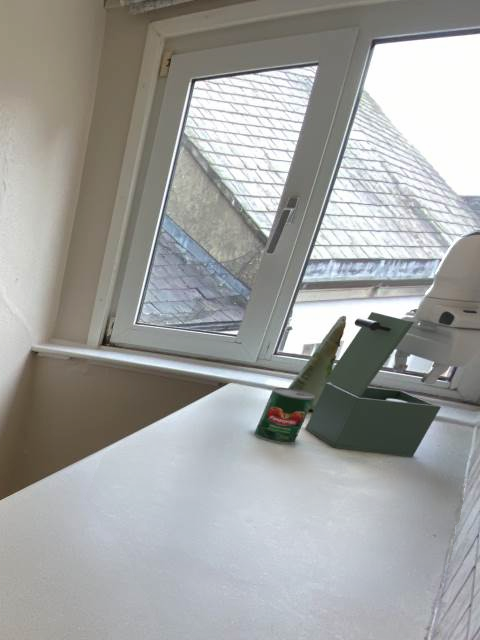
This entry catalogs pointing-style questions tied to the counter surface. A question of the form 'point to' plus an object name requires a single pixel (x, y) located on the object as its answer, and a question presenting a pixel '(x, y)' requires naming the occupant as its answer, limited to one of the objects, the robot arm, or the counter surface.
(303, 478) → the counter surface
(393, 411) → the chest
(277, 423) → the canned tomato
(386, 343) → the lid
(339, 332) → the pouch
